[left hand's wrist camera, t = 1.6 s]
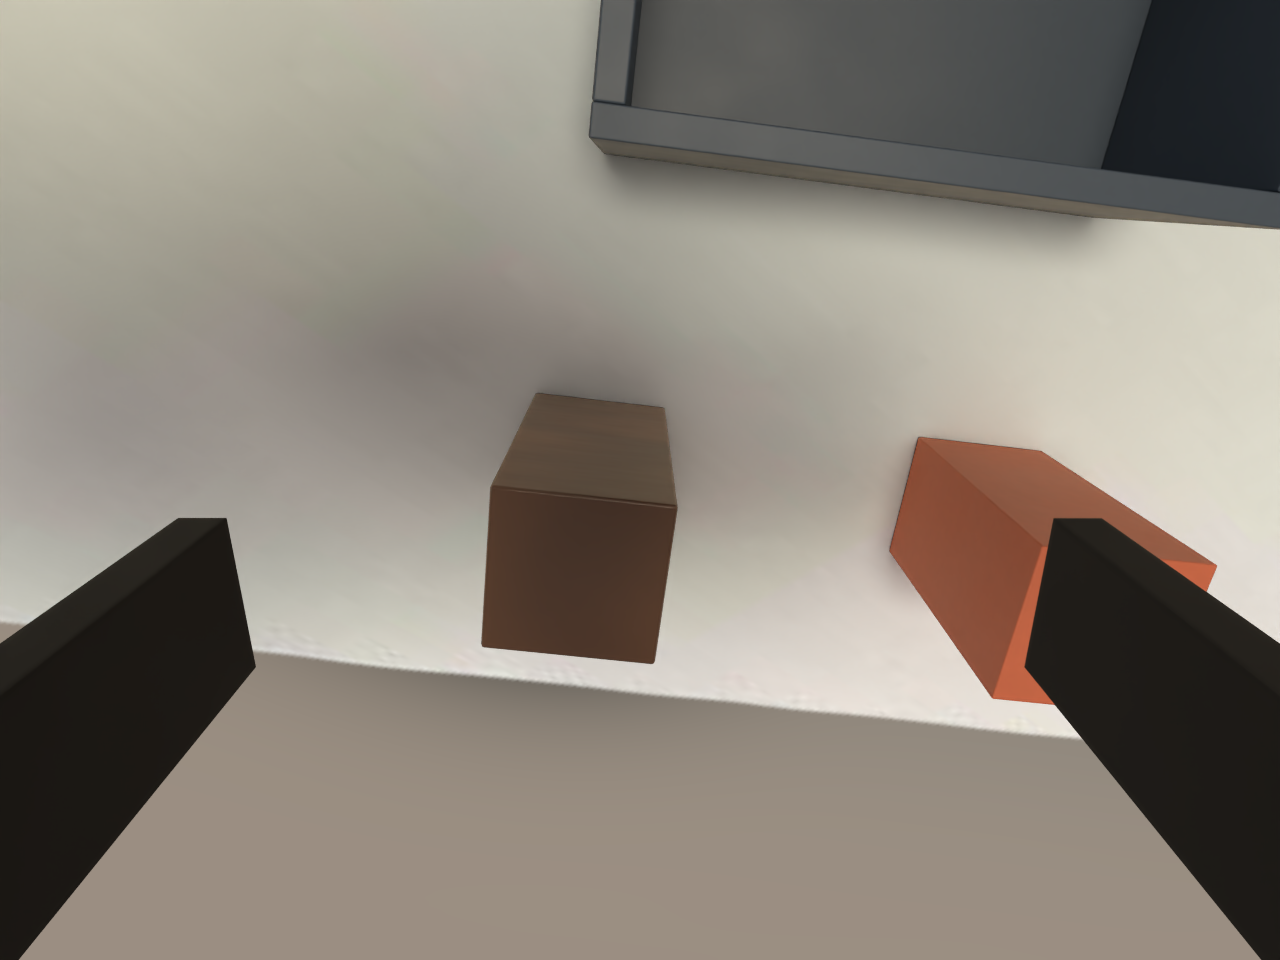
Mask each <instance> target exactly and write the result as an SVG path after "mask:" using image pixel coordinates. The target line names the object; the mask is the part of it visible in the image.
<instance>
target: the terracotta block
mask: <svg viewBox="0 0 1280 960" xmlns="http://www.w3.org/2000/svg"><path fill="white" fill-rule="evenodd" d="M1053 518H1102V519H1104V520H1105V521H1107V522H1108V523H1109V524H1111V525H1112V526H1114V527H1115V528H1117V529H1118V530H1119V531H1121V532H1122V533H1124V534H1125V535H1126V536H1128V537H1129V538H1131V539H1132V540H1134V541H1135V542H1136V543H1138V544H1139V545H1141V546H1142V547H1143V548H1145V549H1146V550H1148V551H1149V552H1151V553H1152V554H1153V555H1155V556H1156V557H1158V558H1159V559H1160V560H1162V561H1163V562H1165V563H1166V564H1168V565H1169V566H1170V567H1172V568H1173V569H1175V570H1176V571H1178V572H1179V573H1180V574H1182V575H1183V576H1185V577H1186V578H1187V579H1189V580H1190V581H1192V582H1193V583H1195V584H1196V585H1197V586H1199V587H1200V588H1202V589H1203V590H1204V591H1206V592H1207V589H1208V587H1209V584H1210V582H1211V580H1212V577H1213V575H1214V573H1215V570H1216V568H1217V565H1216V564H1214V563H1213V562H1211V561H1209V560H1208V559H1206V558H1205V557H1203V556H1202V555H1200V554H1199V553H1197V552H1196V551H1194V550H1193V549H1191V548H1189V547H1188V546H1186V545H1185V544H1183V543H1182V542H1180V541H1179V540H1177V539H1176V538H1174V537H1173V536H1171V535H1169V534H1168V533H1166V532H1165V531H1163V530H1162V529H1160V528H1159V527H1157V526H1156V525H1154V524H1153V523H1151V522H1149V521H1148V520H1146V519H1145V518H1143V517H1142V516H1140V515H1139V514H1137V513H1136V512H1134V511H1133V510H1131V509H1129V508H1128V507H1126V506H1125V505H1123V504H1122V503H1120V502H1119V501H1117V500H1116V499H1114V498H1113V497H1111V496H1109V495H1108V494H1106V493H1105V492H1103V491H1102V490H1100V489H1099V488H1097V487H1096V486H1094V485H1093V484H1091V483H1089V482H1088V481H1086V480H1085V479H1083V478H1082V477H1080V476H1079V475H1077V474H1076V473H1074V472H1073V471H1071V470H1070V469H1068V468H1066V467H1065V466H1063V465H1062V464H1060V463H1059V462H1057V461H1056V460H1054V459H1053V458H1051V457H1050V456H1048V455H1046V454H1045V453H1043V452H1042V451H1035V450H1027V449H1018V448H1009V447H1001V446H992V445H983V444H975V443H966V442H957V441H949V440H940V439H931V438H923V437H919V438H918V442H917V446H916V450H915V454H914V458H913V461H912V465H911V469H910V473H909V477H908V481H907V485H906V489H905V493H904V497H903V501H902V504H901V508H900V512H899V516H898V520H897V524H896V528H895V532H894V536H893V540H892V543H891V547H890V553H891V554H892V556H893V557H894V558H895V560H896V561H897V563H898V564H899V566H900V567H901V568H902V570H903V571H904V573H905V574H906V576H907V577H908V578H909V580H910V581H911V583H912V584H913V586H914V587H915V588H916V590H917V591H918V593H919V594H920V596H921V597H922V598H923V600H924V601H925V603H926V604H927V606H928V607H929V609H930V610H931V611H932V613H933V614H934V616H935V617H936V619H937V620H938V621H939V623H940V624H941V626H942V627H943V629H944V630H945V631H946V633H947V634H948V636H949V637H950V639H951V640H952V641H953V643H954V644H955V646H956V647H957V649H958V650H959V651H960V653H961V654H962V656H963V657H964V659H965V660H966V662H967V663H968V664H969V666H970V667H971V669H972V670H973V672H974V673H975V674H976V676H977V677H978V679H979V680H980V682H981V683H982V684H983V686H984V687H985V689H986V690H987V692H988V693H989V694H990V696H991V697H992V698H993V699H1002V700H1012V701H1022V702H1032V703H1042V704H1052V705H1055V704H1054V703H1053V702H1052V701H1051V699H1050V698H1049V697H1048V696H1047V694H1046V693H1045V692H1044V691H1043V690H1042V688H1041V687H1040V686H1039V685H1038V683H1037V682H1036V681H1035V680H1034V678H1033V677H1032V676H1031V675H1030V673H1029V672H1028V671H1027V670H1026V669H1025V667H1024V666H1025V660H1026V655H1027V650H1028V645H1029V640H1030V635H1031V630H1032V625H1033V620H1034V615H1035V610H1036V605H1037V599H1038V594H1039V589H1040V584H1041V579H1042V574H1043V569H1044V564H1045V559H1046V554H1047V549H1048V544H1049V539H1050V533H1051V528H1052V523H1053Z"/></svg>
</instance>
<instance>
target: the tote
mask: <svg viewBox="0 0 1280 960" xmlns="http://www.w3.org/2000/svg"><path fill="white" fill-rule="evenodd" d="M592 99H593V102H592V106H591V117H590V129H589V137H590V139H591V140H592V141H593V142H594V143H595V144H596V145H597V146H598V148H599V149H600V150H601V151H602V152H603V153H605V154H611V155H618V156H626V157H634V158H641V159H649V160H656V161H664V162H672V163H679V164H687V165H695V166H702V167H710V168H718V169H725V170H733V171H741V172H748V173H756V174H764V175H771V176H779V177H787V178H794V179H802V180H810V181H817V182H825V183H833V184H840V185H848V186H856V187H863V188H871V189H879V190H886V191H894V192H902V193H909V194H917V195H925V196H932V197H940V198H948V199H955V200H963V201H971V202H978V203H986V204H994V205H1001V206H1009V207H1017V208H1024V209H1032V210H1040V211H1047V212H1055V213H1063V214H1070V215H1078V216H1086V217H1093V218H1107V219H1122V220H1138V221H1154V222H1170V223H1185V224H1201V225H1217V226H1233V227H1248V228H1264V229H1280V0H601V7H600V18H599V29H598V40H597V51H596V62H595V73H594V85H593V96H592Z"/></svg>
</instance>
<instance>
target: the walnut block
mask: <svg viewBox="0 0 1280 960" xmlns="http://www.w3.org/2000/svg"><path fill="white" fill-rule="evenodd" d="M677 509H678V507H677V499H676V492H675V484H674V477H673V469H672V461H671V454H670V446H669V439H668V431H667V423H666V416H665V409H664V408H661V407H653V406H644V405H635V404H627V403H618V402H609V401H601V400H592V399H584V398H575V397H566V396H558V395H549V394H540V393H536V394H535V396H534V398H533V400H532V402H531V404H530V406H529V409H528V411H527V413H526V415H525V417H524V419H523V421H522V423H521V425H520V427H519V429H518V431H517V433H516V435H515V438H514V440H513V442H512V444H511V446H510V448H509V450H508V452H507V454H506V456H505V458H504V460H503V462H502V464H501V466H500V469H499V471H498V473H497V475H496V477H495V479H494V481H493V483H492V485H491V487H490V502H489V520H488V537H487V554H486V572H485V589H484V606H483V624H482V641H481V644H482V647H487V648H497V649H507V650H517V651H527V652H537V653H547V654H557V655H567V656H577V657H587V658H597V659H607V660H617V661H627V662H637V663H647V664H653V663H654V662H655V657H656V650H657V643H658V637H659V630H660V623H661V617H662V610H663V603H664V596H665V590H666V583H667V576H668V569H669V563H670V556H671V549H672V542H673V536H674V529H675V522H676V516H677Z"/></svg>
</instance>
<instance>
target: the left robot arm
mask: <svg viewBox="0 0 1280 960" xmlns="http://www.w3.org/2000/svg"><path fill="white" fill-rule="evenodd" d="M255 667H256V666H255V660H254V655H253V650H252V645H251V640H250V635H249V630H248V625H247V620H246V615H245V610H244V605H243V599H242V594H241V589H240V584H239V579H238V574H237V569H236V564H235V559H234V554H233V549H232V544H231V539H230V533H229V528H228V523H227V518H178V519H176V520H175V521H173V522H172V523H171V524H169V525H168V526H166V527H165V528H163V529H162V530H161V531H159V532H158V533H156V534H155V535H154V536H152V537H151V538H149V539H148V540H146V541H145V542H144V543H142V544H141V545H139V546H138V547H137V548H135V549H134V550H132V551H131V552H129V553H128V554H127V555H125V556H124V557H122V558H121V559H120V560H118V561H117V562H115V563H114V564H112V565H111V566H110V567H108V568H107V569H105V570H104V571H102V572H101V573H100V574H98V575H97V576H95V577H94V578H93V579H91V580H90V581H88V582H87V583H85V584H84V585H83V586H81V587H80V588H78V589H77V590H76V591H74V592H73V593H71V594H70V595H68V596H67V597H66V598H64V599H63V600H61V601H60V602H59V603H57V604H56V605H54V606H53V607H51V608H50V609H49V610H47V611H46V612H44V613H43V614H41V615H40V616H39V617H37V618H36V619H34V620H33V621H32V622H30V623H29V624H27V625H26V626H24V627H23V628H22V629H20V630H19V631H17V632H16V633H15V634H13V635H12V636H10V637H9V638H7V639H6V640H5V641H3V642H2V643H0V960H19V959H20V957H21V956H22V955H23V954H24V953H25V951H26V950H27V949H28V948H29V946H30V945H31V944H32V943H33V941H34V940H35V939H36V938H37V936H38V935H39V934H40V933H41V932H42V930H43V929H44V928H45V927H46V925H47V924H48V923H49V922H50V920H51V919H52V918H53V917H54V915H55V914H56V913H57V912H58V911H59V909H60V908H61V907H62V906H63V904H64V903H65V902H66V901H67V899H68V898H69V897H70V896H71V894H72V893H73V892H74V891H75V890H76V888H77V887H78V886H79V885H80V883H81V882H82V881H83V880H84V878H85V877H86V876H87V875H88V873H89V872H90V871H91V870H92V869H93V867H94V866H95V865H96V864H97V862H98V861H99V860H100V859H101V857H102V856H103V855H104V854H105V852H106V851H107V850H108V849H109V848H110V846H111V845H112V844H113V843H114V841H115V840H116V839H117V838H118V836H119V835H120V834H121V833H122V831H123V830H124V829H125V828H126V827H127V825H128V824H129V823H130V822H131V820H132V819H133V818H134V817H135V815H136V814H137V813H138V812H139V811H140V809H141V808H142V807H143V805H144V804H145V803H146V802H147V801H148V799H149V798H150V797H151V796H152V794H153V793H154V792H155V791H156V790H157V788H158V787H159V786H160V785H161V783H162V782H163V781H164V780H165V778H166V777H167V776H168V775H169V774H170V772H171V771H172V770H173V769H174V767H175V766H176V765H177V764H178V762H179V761H180V760H181V759H182V757H183V756H184V755H185V754H186V753H187V751H188V750H189V749H190V748H191V746H192V745H193V744H194V743H195V741H196V740H197V739H198V738H199V736H200V735H201V734H202V733H203V731H204V730H205V729H206V728H207V727H208V725H209V724H210V723H211V722H212V720H213V719H214V718H215V717H216V715H217V714H218V713H219V712H220V710H221V709H222V708H223V707H224V706H225V704H226V703H227V702H228V701H229V699H230V698H231V697H232V696H233V694H234V693H235V692H236V691H237V690H238V688H239V687H240V686H241V685H242V683H243V682H244V681H245V680H246V678H247V677H248V676H249V675H250V673H251V672H252V671H253V670H254V669H255ZM1024 667H1025V669H1026V670H1027V671H1028V672H1029V673H1030V675H1031V676H1032V677H1033V678H1034V680H1035V681H1036V682H1037V683H1038V685H1039V686H1040V687H1041V688H1042V690H1043V691H1044V692H1045V693H1046V694H1047V696H1048V697H1049V698H1050V699H1051V701H1052V702H1053V703H1054V704H1055V706H1056V707H1057V708H1058V709H1059V711H1060V712H1061V713H1062V714H1063V715H1064V717H1065V718H1066V719H1067V720H1068V722H1069V723H1070V724H1071V725H1072V727H1073V728H1074V729H1075V730H1076V732H1077V733H1078V734H1079V735H1080V736H1081V738H1082V739H1083V740H1084V741H1085V743H1086V744H1087V745H1088V746H1089V748H1090V749H1091V750H1092V751H1093V753H1094V754H1095V755H1096V756H1097V757H1098V759H1099V760H1100V761H1101V762H1102V764H1103V765H1104V766H1105V767H1106V769H1107V770H1108V771H1109V772H1110V774H1111V775H1112V776H1113V777H1114V778H1115V780H1116V781H1117V782H1118V783H1119V785H1120V786H1121V787H1122V788H1123V790H1124V791H1125V792H1126V793H1127V794H1128V796H1129V797H1130V798H1131V799H1132V801H1133V802H1134V803H1135V804H1136V806H1137V807H1138V808H1139V809H1140V811H1141V812H1142V813H1143V814H1144V815H1145V817H1146V818H1147V819H1148V820H1149V822H1150V823H1151V824H1152V825H1153V826H1154V828H1155V829H1156V830H1157V832H1158V833H1159V834H1160V835H1161V836H1162V838H1163V839H1164V840H1165V841H1166V843H1167V844H1168V845H1169V846H1170V848H1171V849H1172V850H1173V851H1174V853H1175V854H1176V855H1177V856H1178V857H1179V859H1180V860H1181V861H1182V862H1183V864H1184V865H1185V866H1186V867H1187V869H1188V870H1189V871H1190V872H1191V874H1192V875H1193V876H1194V877H1195V878H1196V880H1197V881H1198V882H1199V883H1200V885H1201V886H1202V887H1203V888H1204V890H1205V891H1206V892H1207V893H1208V894H1209V896H1210V897H1211V898H1212V899H1213V901H1214V902H1215V903H1216V904H1217V906H1218V907H1219V908H1220V909H1221V911H1222V912H1223V913H1224V914H1225V915H1226V917H1227V918H1228V919H1229V920H1230V922H1231V923H1232V924H1233V925H1234V927H1235V928H1236V929H1237V930H1238V932H1239V933H1240V934H1241V935H1242V936H1243V938H1244V939H1245V940H1246V941H1247V943H1248V944H1249V945H1250V946H1251V948H1252V949H1253V950H1254V951H1255V953H1256V954H1257V955H1258V956H1259V957H1260V959H1261V960H1280V643H1278V642H1277V641H1275V640H1274V639H1273V638H1271V637H1270V636H1268V635H1267V634H1265V633H1264V632H1263V631H1261V630H1260V629H1258V628H1257V627H1256V626H1254V625H1253V624H1251V623H1250V622H1248V621H1247V620H1246V619H1244V618H1243V617H1241V616H1240V615H1239V614H1237V613H1236V612H1234V611H1233V610H1231V609H1230V608H1229V607H1227V606H1226V605H1224V604H1223V603H1221V602H1220V601H1219V600H1217V599H1216V598H1214V597H1213V596H1212V595H1210V594H1209V593H1207V592H1206V591H1204V590H1203V589H1202V588H1200V587H1199V586H1197V585H1196V584H1195V583H1193V582H1192V581H1190V580H1189V579H1187V578H1186V577H1185V576H1183V575H1182V574H1180V573H1179V572H1178V571H1176V570H1175V569H1173V568H1172V567H1170V566H1169V565H1168V564H1166V563H1165V562H1163V561H1162V560H1160V559H1159V558H1158V557H1156V556H1155V555H1153V554H1152V553H1151V552H1149V551H1148V550H1146V549H1145V548H1143V547H1142V546H1141V545H1139V544H1138V543H1136V542H1135V541H1134V540H1132V539H1131V538H1129V537H1128V536H1126V535H1125V534H1124V533H1122V532H1121V531H1119V530H1118V529H1117V528H1115V527H1114V526H1112V525H1111V524H1109V523H1108V522H1107V521H1105V520H1104V519H1102V518H1053V523H1052V528H1051V533H1050V539H1049V544H1048V549H1047V554H1046V559H1045V564H1044V569H1043V574H1042V579H1041V584H1040V589H1039V594H1038V599H1037V605H1036V610H1035V615H1034V620H1033V625H1032V630H1031V635H1030V640H1029V645H1028V650H1027V655H1026V660H1025V666H1024Z"/></svg>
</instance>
